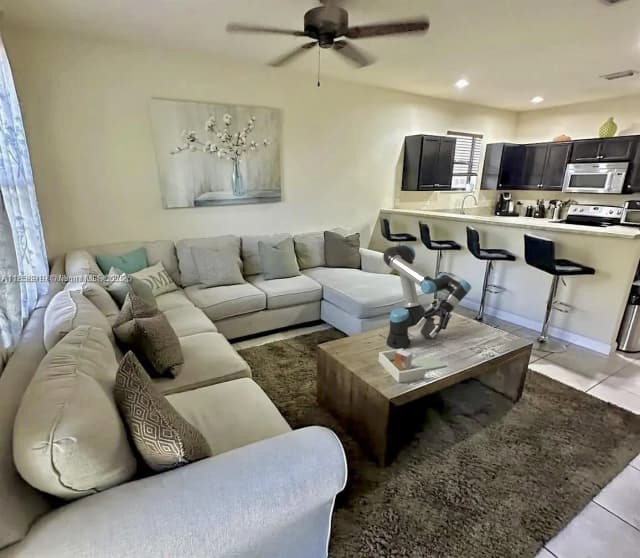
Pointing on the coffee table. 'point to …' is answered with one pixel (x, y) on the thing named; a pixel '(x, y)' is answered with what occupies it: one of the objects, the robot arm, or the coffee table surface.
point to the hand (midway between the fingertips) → (424, 331)
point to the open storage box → (398, 375)
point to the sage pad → (430, 363)
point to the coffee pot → (428, 328)
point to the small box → (403, 360)
